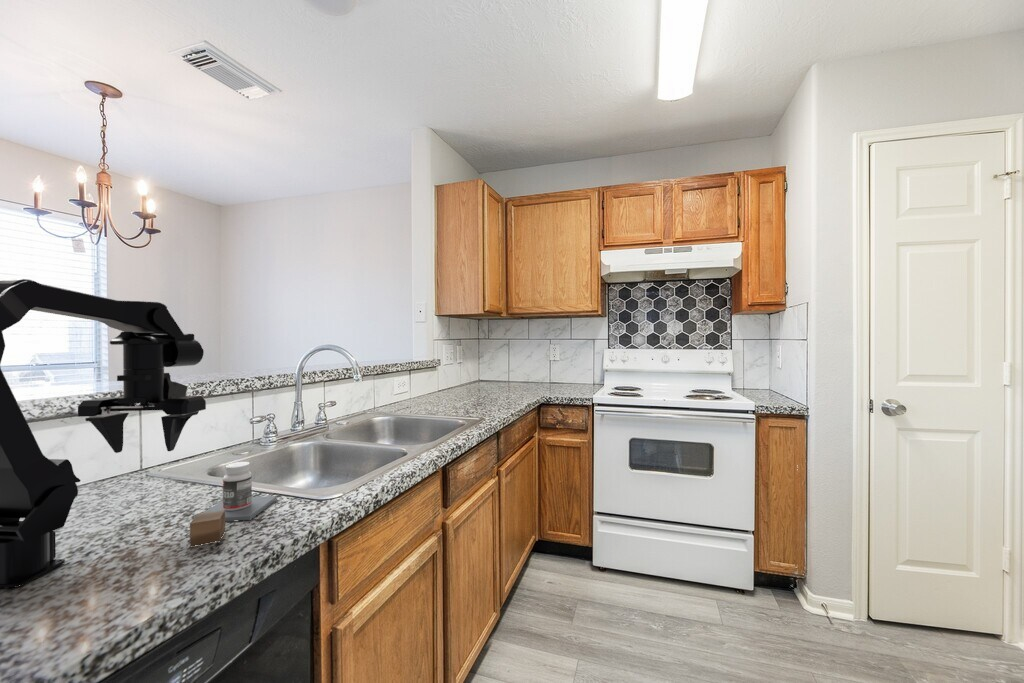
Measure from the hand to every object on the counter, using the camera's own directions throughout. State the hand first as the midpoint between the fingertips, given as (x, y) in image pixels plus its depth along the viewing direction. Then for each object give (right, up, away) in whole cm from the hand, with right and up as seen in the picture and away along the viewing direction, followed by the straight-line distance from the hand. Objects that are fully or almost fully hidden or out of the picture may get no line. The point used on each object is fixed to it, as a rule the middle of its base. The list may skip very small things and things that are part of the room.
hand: (144, 451), depth 76 cm
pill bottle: (+15, -12, +4) cm, 20 cm away
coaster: (+15, -13, +4) cm, 20 cm away
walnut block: (+18, -13, -8) cm, 23 cm away
